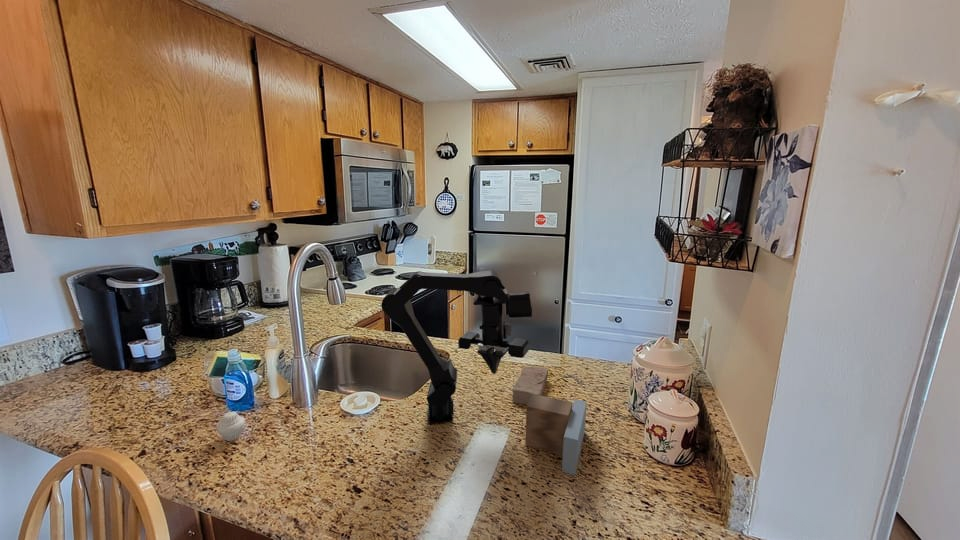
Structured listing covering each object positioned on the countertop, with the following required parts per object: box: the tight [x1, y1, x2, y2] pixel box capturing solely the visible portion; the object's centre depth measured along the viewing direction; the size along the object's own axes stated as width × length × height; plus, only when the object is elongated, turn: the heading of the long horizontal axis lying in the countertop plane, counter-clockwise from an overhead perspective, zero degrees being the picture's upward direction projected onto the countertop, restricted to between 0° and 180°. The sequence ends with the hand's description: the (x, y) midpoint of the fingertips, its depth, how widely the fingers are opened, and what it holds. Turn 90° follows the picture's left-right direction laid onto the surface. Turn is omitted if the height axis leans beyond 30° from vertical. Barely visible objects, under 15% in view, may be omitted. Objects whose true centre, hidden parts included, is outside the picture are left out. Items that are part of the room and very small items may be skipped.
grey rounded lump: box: [216, 411, 246, 442], centre depth 96 cm, size 6×6×7 cm
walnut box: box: [524, 394, 573, 456], centre depth 94 cm, size 10×6×11 cm, turn 68°
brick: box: [511, 365, 549, 406], centre depth 118 cm, size 17×8×5 cm, turn 161°
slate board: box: [561, 399, 588, 476], centre depth 91 cm, size 3×16×9 cm, turn 158°
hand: (494, 373), depth 103 cm, fingers closed
